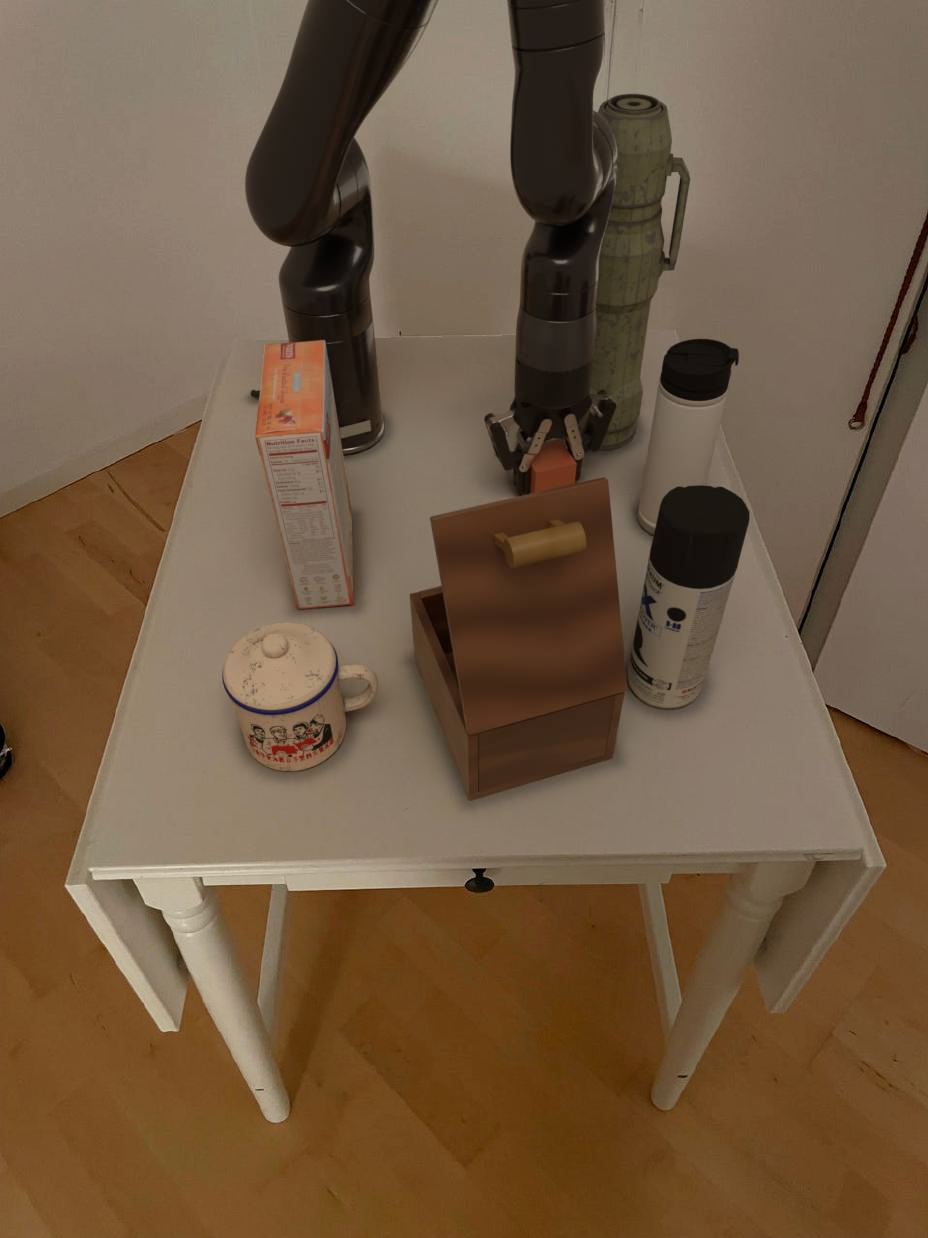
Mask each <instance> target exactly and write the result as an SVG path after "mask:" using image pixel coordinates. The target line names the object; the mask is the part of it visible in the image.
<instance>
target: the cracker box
mask: <svg viewBox="0 0 928 1238" xmlns="http://www.w3.org/2000/svg"><path fill="white" fill-rule="evenodd" d="M259 390H260V397H259V400H258V405H257V407H258V408H257V416H256V426H255V436H254V437H255V441H256V445H257V449H258V454H259V457H260V460H261V465H262V469H263V474H264V478H265V482H266V485H267V490H268V494H269V498H270V502H271V505H272V510H273V514H274V518H275V519H274V520H275V523H276V528H277V531H278V535H279V540H280V544H281V548H282V552H283V556H284V559H285V565H286V570H287V573H288V577H289V581H290V585H291V588H292V593H293V598H294V602H295V605H296V609H297V610H304V609H305V610H308V609H317V608H318V609H319V608H330V607H342V606H343V607H344V606H353V605H354V604H355V588H354V587H355V586H354V585H355V584H354V546H353V543H354V542H353V540H354V539H353V510H352V502H351V495H350V490H349V483H348V477H347V471H346V470H347V469H346V464H345V458H344V454H343V451H342V445H341V438H340V432H339V425H338V419H337V412H336V406H335V399H334V393H333V386H332V380H331V373H330V367H329V361H328V355H327V349H326V343H325V340H318V341H306V342H295V343H289V342H282V343H270V344H264V345H263V356H262V365H261V377H260V387H259Z"/></svg>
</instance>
